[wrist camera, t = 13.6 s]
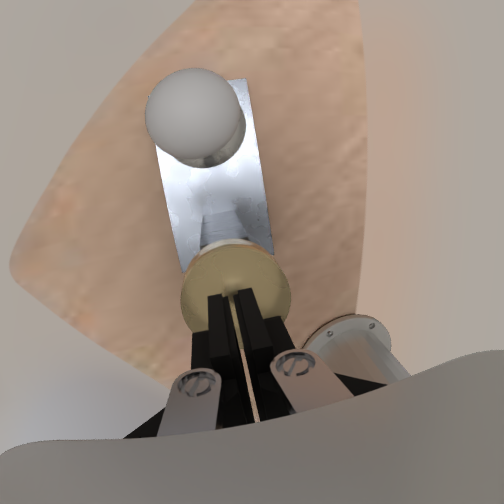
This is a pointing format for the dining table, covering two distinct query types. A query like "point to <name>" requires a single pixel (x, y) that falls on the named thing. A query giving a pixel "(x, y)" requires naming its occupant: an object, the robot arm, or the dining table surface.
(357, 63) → the dining table surface
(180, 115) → the lightbulb
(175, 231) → the metal press stand
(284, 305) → the brass knob
